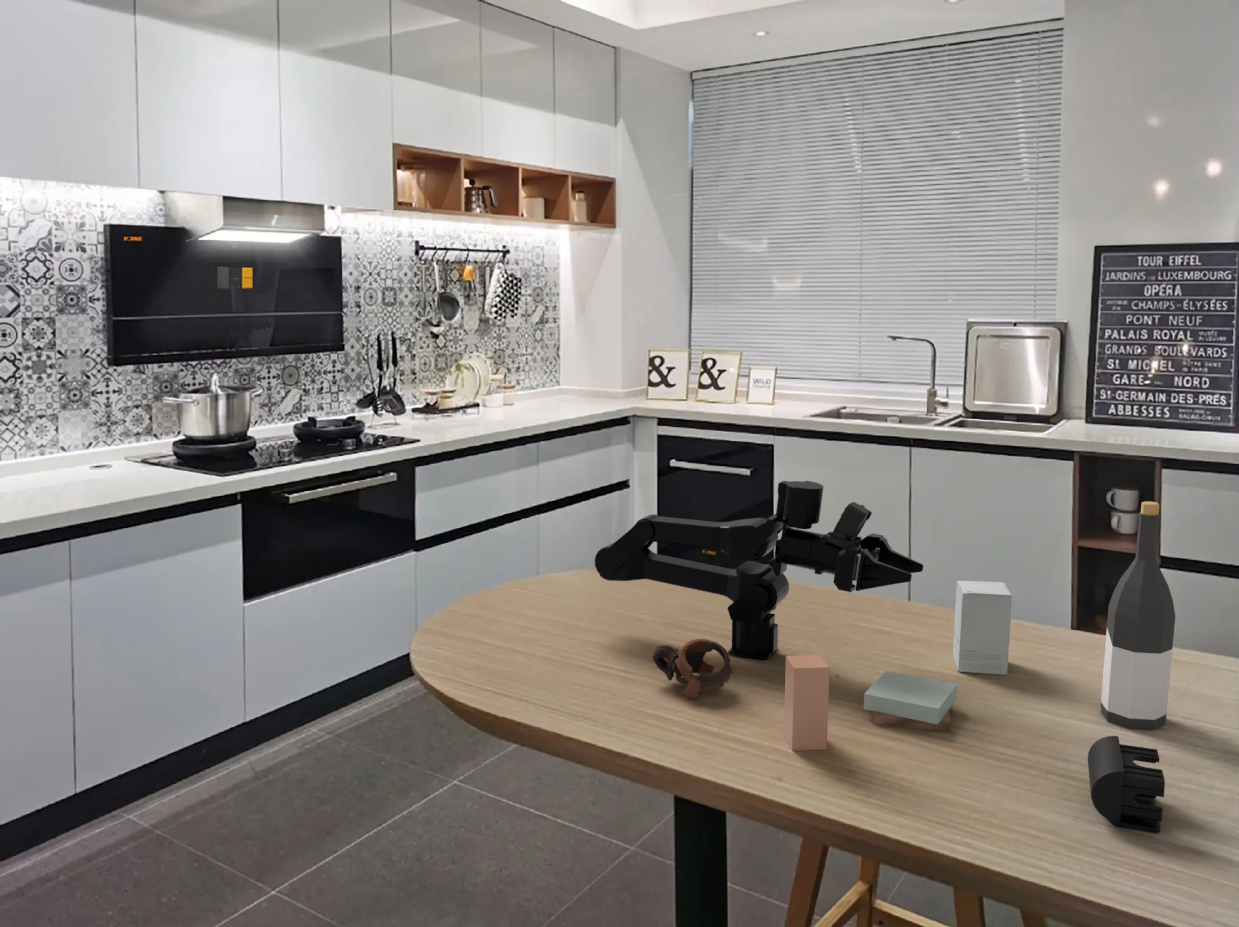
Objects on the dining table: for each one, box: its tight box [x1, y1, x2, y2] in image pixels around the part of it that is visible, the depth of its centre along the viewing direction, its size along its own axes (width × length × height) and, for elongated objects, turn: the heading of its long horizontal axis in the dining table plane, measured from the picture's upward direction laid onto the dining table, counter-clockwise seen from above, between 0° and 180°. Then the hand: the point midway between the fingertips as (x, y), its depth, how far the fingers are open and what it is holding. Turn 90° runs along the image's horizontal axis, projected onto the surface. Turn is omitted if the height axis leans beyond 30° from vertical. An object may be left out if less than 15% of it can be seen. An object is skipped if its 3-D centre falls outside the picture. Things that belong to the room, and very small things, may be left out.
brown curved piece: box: [651, 638, 734, 700], centre depth 155 cm, size 12×10×8 cm
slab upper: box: [863, 670, 958, 724], centre depth 145 cm, size 10×10×2 cm
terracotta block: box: [783, 654, 830, 752], centre depth 136 cm, size 4×4×11 cm
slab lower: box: [872, 709, 951, 732], centre depth 146 cm, size 10×10×2 cm
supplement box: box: [952, 580, 1013, 676], centre depth 163 cm, size 7×7×13 cm
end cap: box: [1087, 735, 1166, 834], centre depth 119 cm, size 10×7×7 cm
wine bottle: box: [1100, 500, 1176, 731], centre depth 141 cm, size 8×8×30 cm
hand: (917, 572), depth 156 cm, fingers open, 9 cm apart
